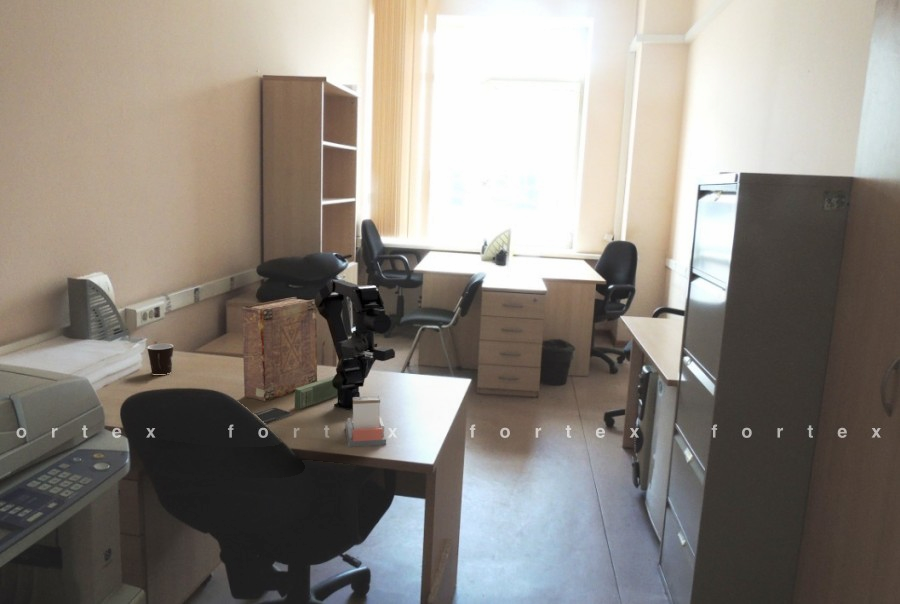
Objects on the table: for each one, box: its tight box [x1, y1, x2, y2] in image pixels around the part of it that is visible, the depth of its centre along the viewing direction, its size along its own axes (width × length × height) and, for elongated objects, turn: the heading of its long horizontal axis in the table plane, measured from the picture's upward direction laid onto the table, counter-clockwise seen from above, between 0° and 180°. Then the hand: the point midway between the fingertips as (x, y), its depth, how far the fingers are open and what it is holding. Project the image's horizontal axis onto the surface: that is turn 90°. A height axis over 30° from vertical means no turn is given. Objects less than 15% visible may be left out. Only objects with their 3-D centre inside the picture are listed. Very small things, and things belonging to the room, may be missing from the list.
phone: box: [255, 407, 291, 425], centre depth 189 cm, size 8×1×15 cm
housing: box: [344, 416, 387, 448], centre depth 178 cm, size 14×10×4 cm
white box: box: [352, 395, 381, 429], centre depth 175 cm, size 3×7×10 cm, turn 103°
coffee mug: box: [146, 343, 174, 374], centre depth 229 cm, size 12×9×10 cm
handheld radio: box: [294, 375, 338, 410], centre depth 209 cm, size 7×3×25 cm
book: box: [241, 296, 318, 402], centre depth 214 cm, size 25×9×30 cm, turn 151°
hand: (364, 377), depth 192 cm, fingers closed
